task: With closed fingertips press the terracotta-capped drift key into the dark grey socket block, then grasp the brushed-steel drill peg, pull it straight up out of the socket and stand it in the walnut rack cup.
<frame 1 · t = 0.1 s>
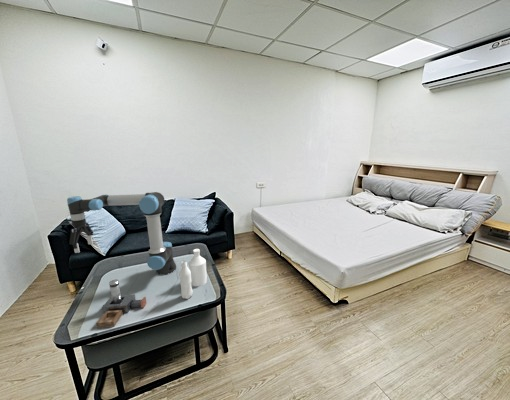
hand: (84, 248, 150), 28 cm above the table, fingers open, 13 cm apart
water bottle: (187, 296, 141), on the table
drift key: (137, 302, 132), point 2 cm above the table, slide at 0.0 cm
bottle: (199, 282, 157), on the table
drill peg: (116, 294, 130), in the socket block
socket block: (118, 307, 132), on the table
rack: (110, 320, 121), on the table
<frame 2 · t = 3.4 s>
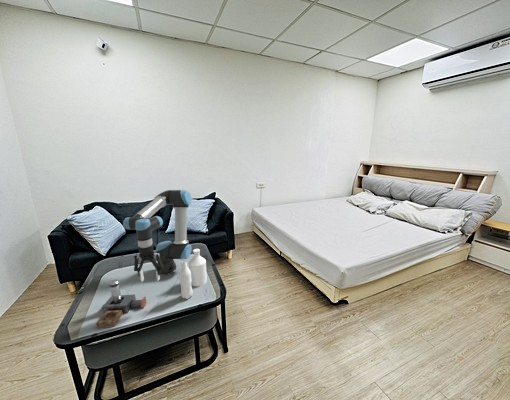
hand: (150, 280, 129), 17 cm above the table, fingers open, 9 cm apart
nothing on the table moved.
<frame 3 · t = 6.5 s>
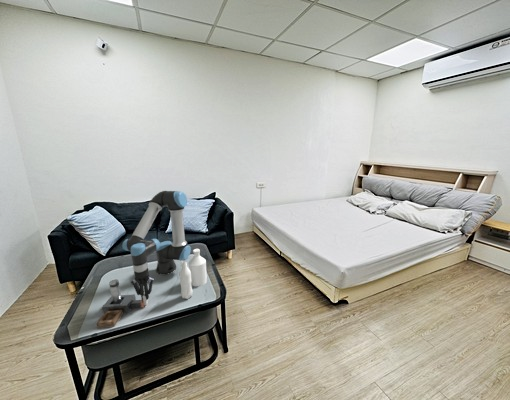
hand: (146, 303, 133), 1 cm above the table, fingers closed
drift key: (137, 302, 132), point 2 cm above the table, slide at 0.0 cm, touching gripper
everything else where it was.
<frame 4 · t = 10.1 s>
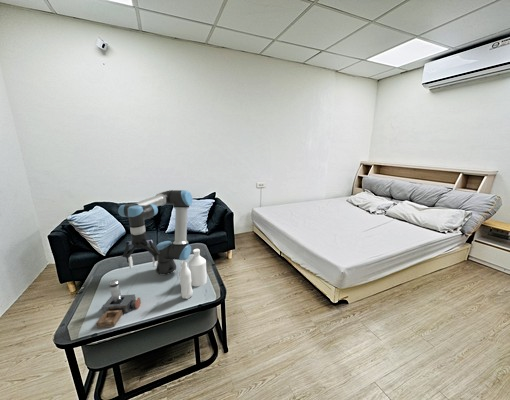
hand: (143, 266, 127), 27 cm above the table, fingers open, 13 cm apart
drift key: (132, 303, 132), point 2 cm above the table, slide at 3.4 cm
everything else where it was.
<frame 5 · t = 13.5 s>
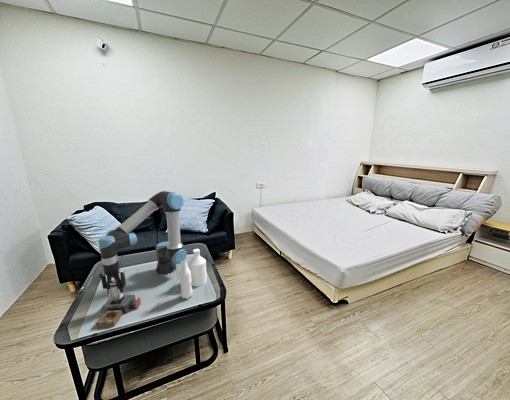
hand: (116, 297, 130), 7 cm above the table, fingers closed on drill peg, 5 cm apart
drill peg: (116, 294, 130), in the socket block, touching gripper
everything else where it was.
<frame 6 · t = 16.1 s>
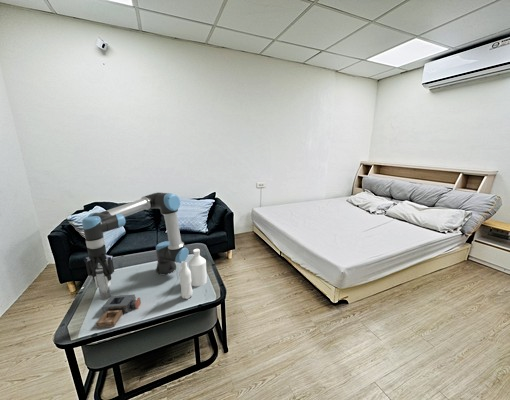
hand: (103, 285, 116), 22 cm above the table, fingers closed on drill peg, 5 cm apart
drill peg: (103, 283, 116), point 24 cm above the table, touching gripper
everything else where it was.
when the fingers open (9 cm above the table, at t = 18.6 s): drill peg drops 1 cm, resting on rack.
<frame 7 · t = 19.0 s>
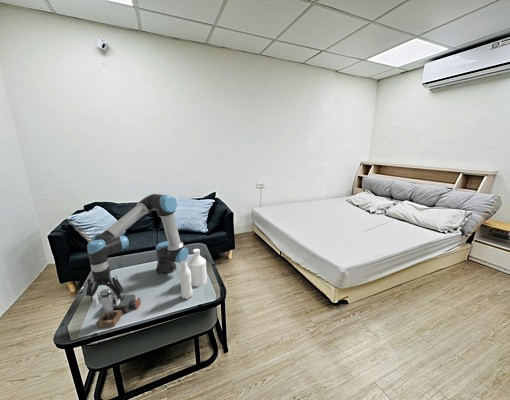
hand: (107, 304, 119), 10 cm above the table, fingers open, 11 cm apart
drill peg: (108, 305, 120), in the rack, point 10 cm above the table
everything else where it was.
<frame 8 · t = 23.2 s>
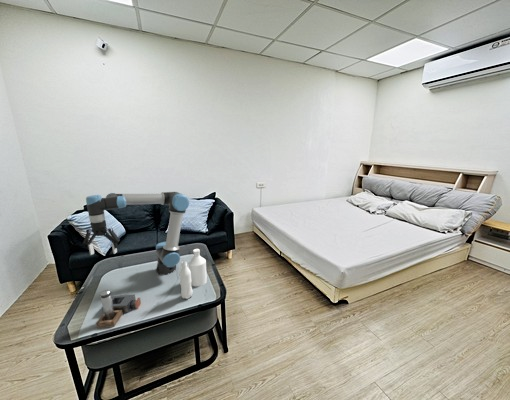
hand: (103, 253, 134), 32 cm above the table, fingers open, 13 cm apart
nothing on the table moved.
at the end: drill peg 0.0 cm off-centre on the rack, point 9.6 cm above the rack's base; drill peg tilted 0°; drift key slide at 3.4 cm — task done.
